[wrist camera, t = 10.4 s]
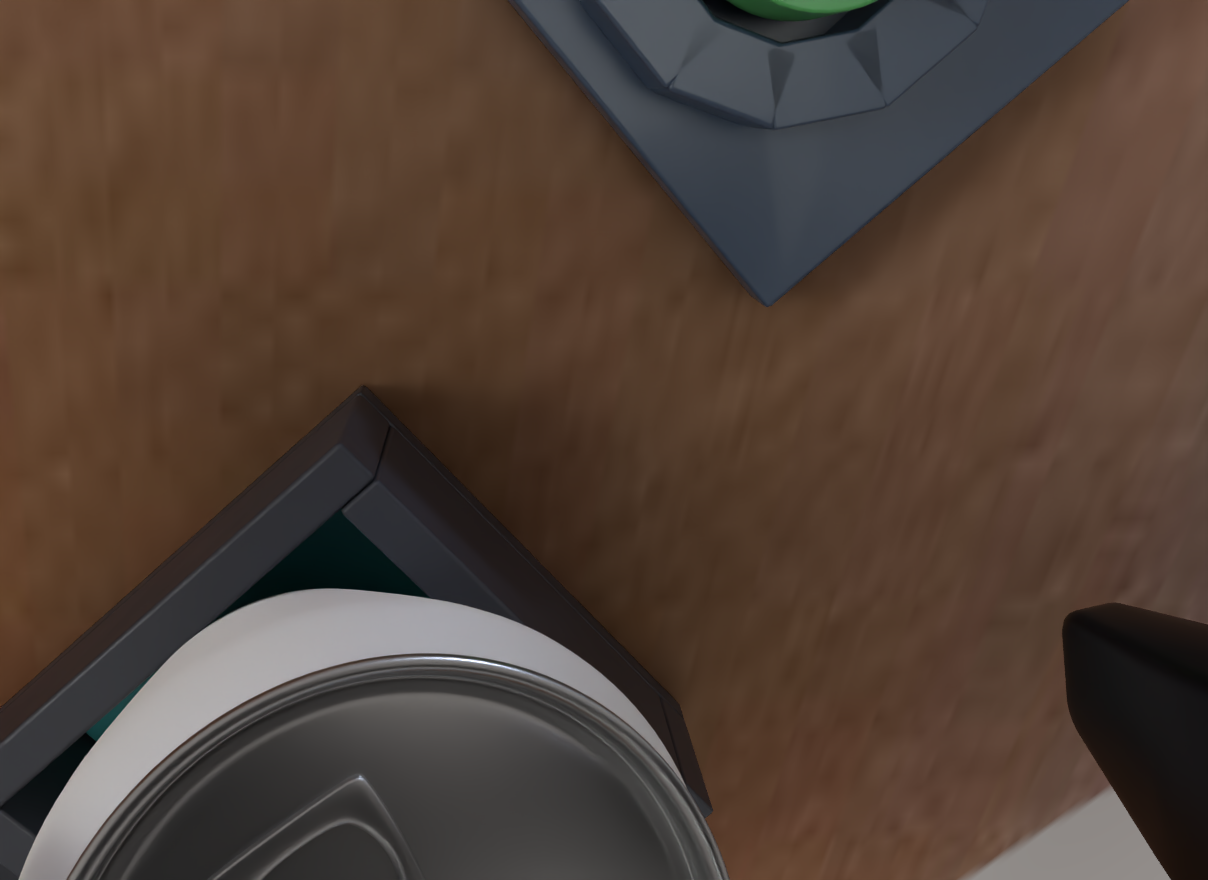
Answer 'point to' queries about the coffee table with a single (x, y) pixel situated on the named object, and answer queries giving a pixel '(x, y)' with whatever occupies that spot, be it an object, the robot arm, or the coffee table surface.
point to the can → (375, 758)
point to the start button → (798, 8)
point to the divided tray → (298, 562)
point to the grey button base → (800, 106)
